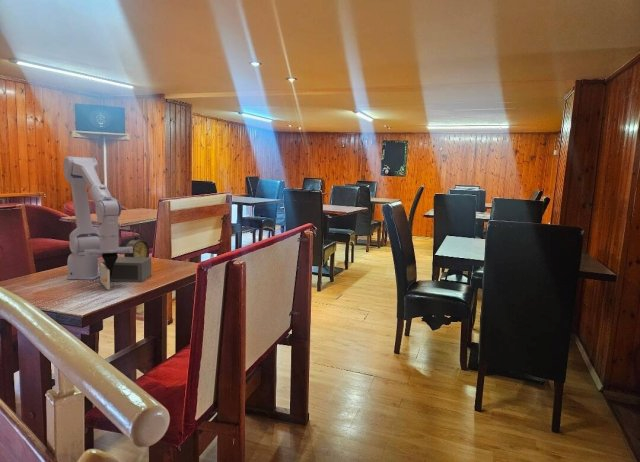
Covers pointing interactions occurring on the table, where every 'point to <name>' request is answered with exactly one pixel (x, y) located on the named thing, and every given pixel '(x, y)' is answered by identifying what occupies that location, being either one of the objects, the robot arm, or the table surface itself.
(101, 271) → the door
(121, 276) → the housing
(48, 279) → the table surface
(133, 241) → the alarm clock
